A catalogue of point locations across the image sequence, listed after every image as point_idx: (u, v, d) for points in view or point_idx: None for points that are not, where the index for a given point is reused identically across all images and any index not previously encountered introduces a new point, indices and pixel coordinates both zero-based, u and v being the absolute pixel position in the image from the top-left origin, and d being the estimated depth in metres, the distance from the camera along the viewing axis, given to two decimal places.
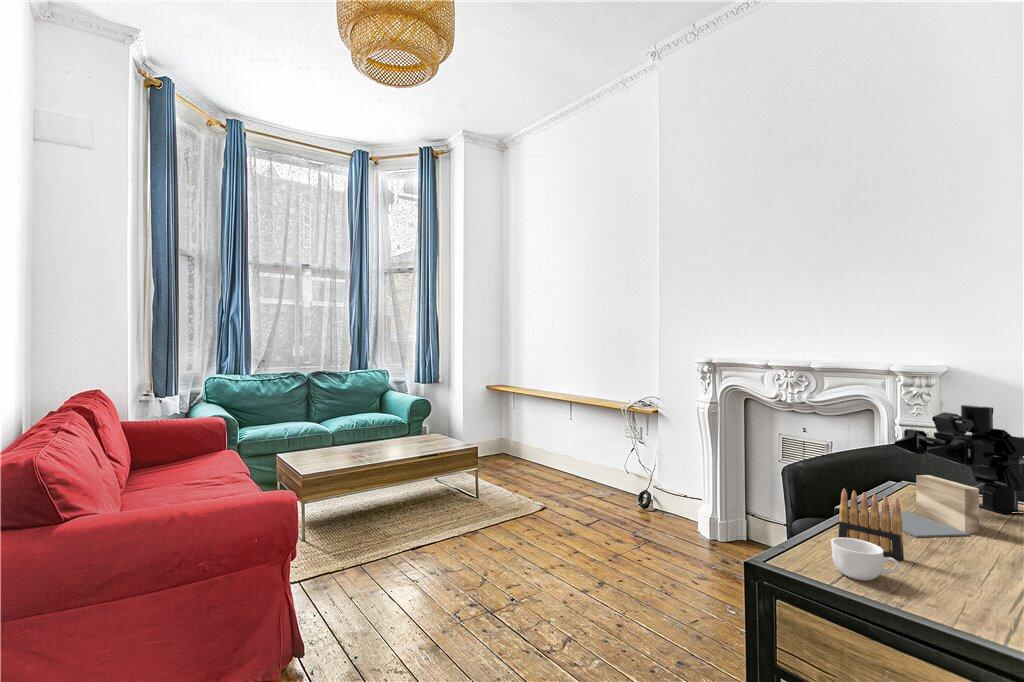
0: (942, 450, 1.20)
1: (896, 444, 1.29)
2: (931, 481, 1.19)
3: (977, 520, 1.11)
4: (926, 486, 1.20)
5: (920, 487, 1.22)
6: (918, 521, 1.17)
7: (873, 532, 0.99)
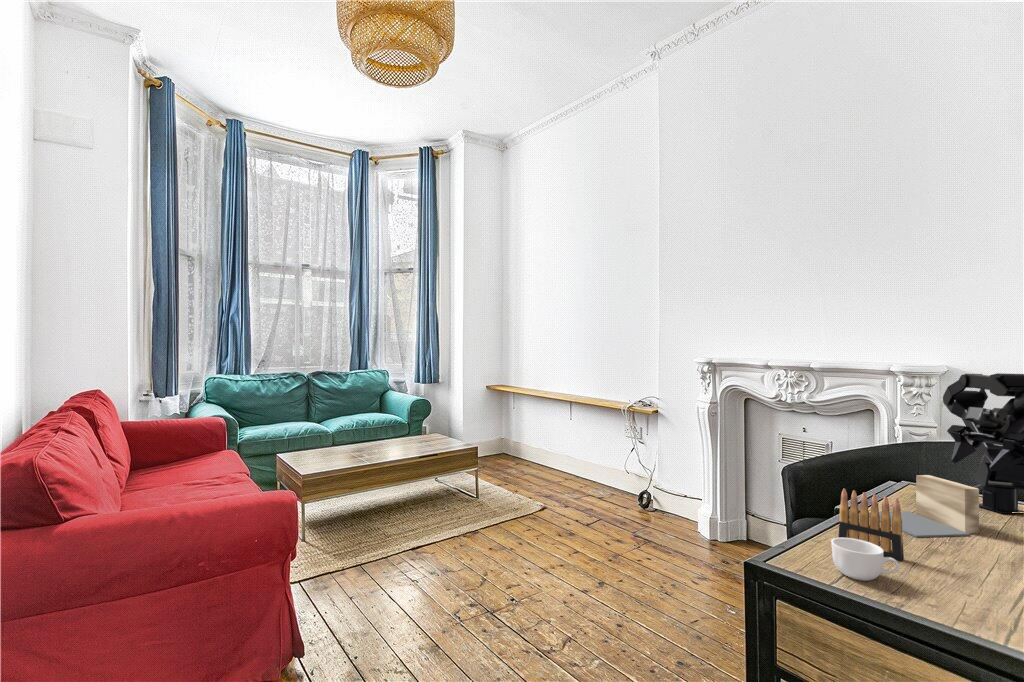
0: (1002, 460, 1.13)
1: (954, 461, 1.23)
2: (931, 481, 1.19)
3: (977, 520, 1.11)
4: (926, 486, 1.20)
5: (920, 487, 1.22)
6: (918, 521, 1.17)
7: (873, 532, 0.99)
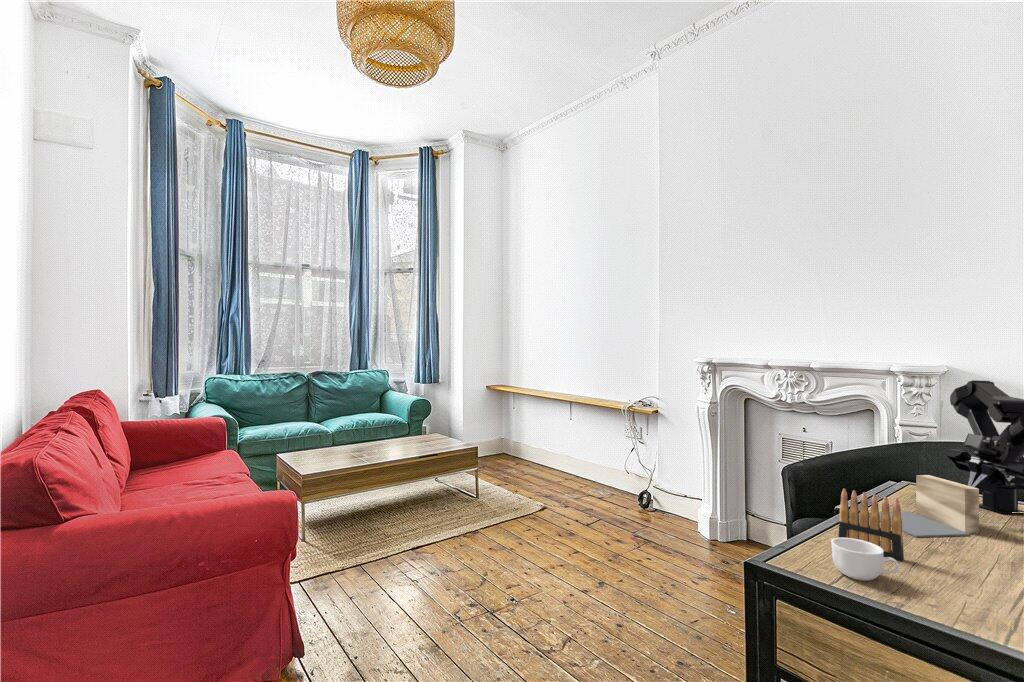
0: (981, 484, 1.17)
1: None
2: (931, 481, 1.19)
3: (977, 520, 1.11)
4: (926, 486, 1.20)
5: (920, 487, 1.22)
6: (918, 521, 1.17)
7: (873, 532, 0.99)
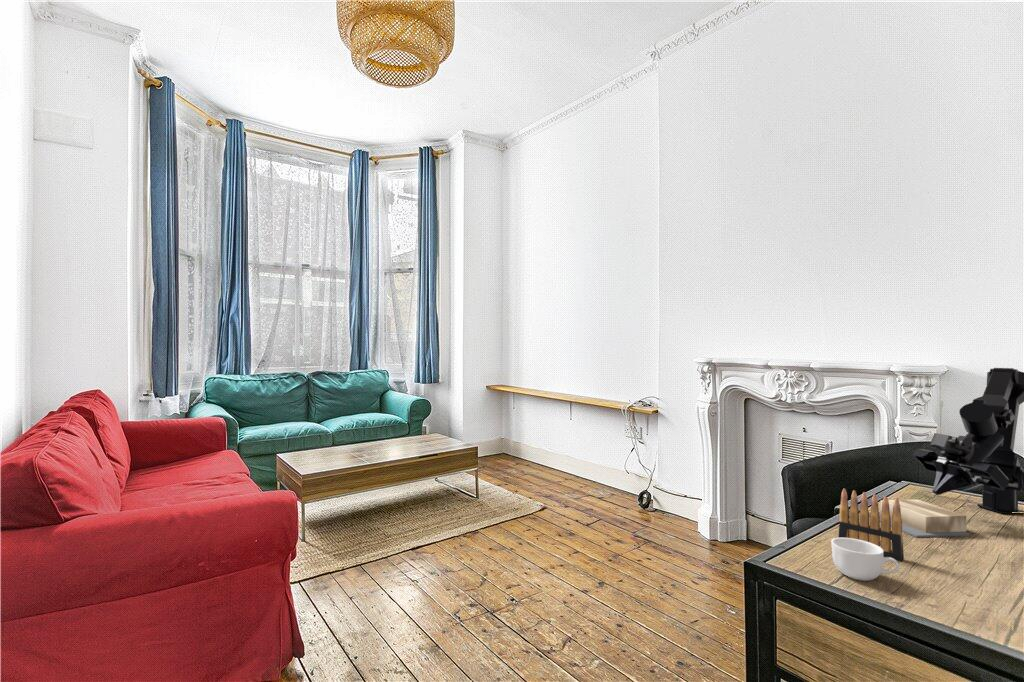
0: (947, 484, 1.16)
1: (936, 492, 1.16)
2: None
3: (955, 517, 1.10)
4: None
5: None
6: None
7: (873, 532, 0.99)
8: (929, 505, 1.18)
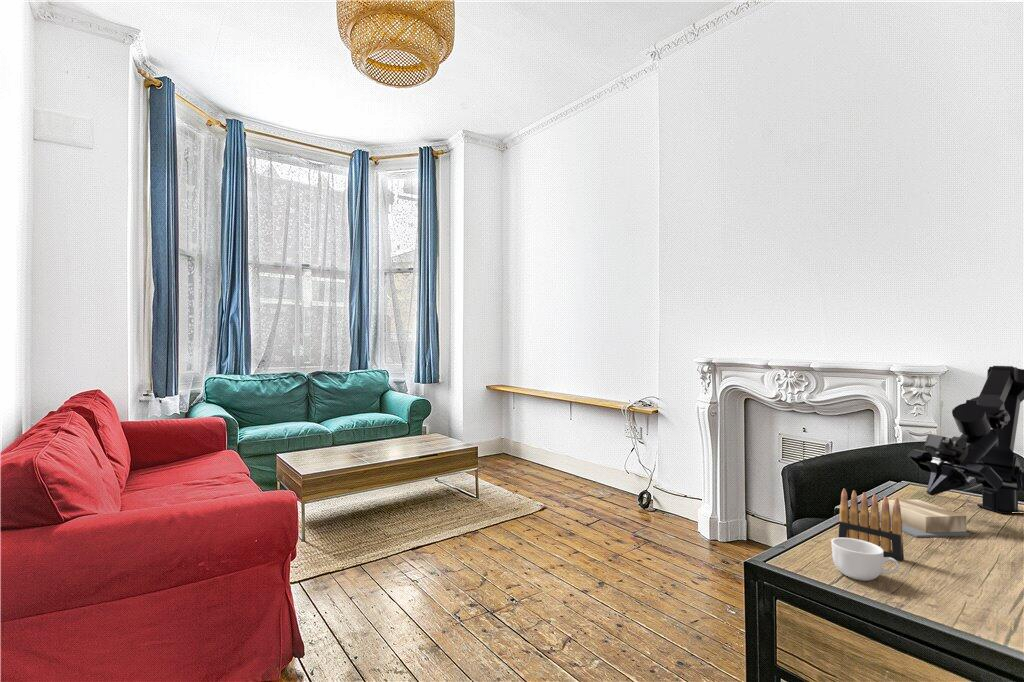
0: (941, 485, 1.16)
1: None
2: None
3: (955, 517, 1.10)
4: None
5: None
6: None
7: (873, 532, 0.99)
8: (929, 505, 1.18)
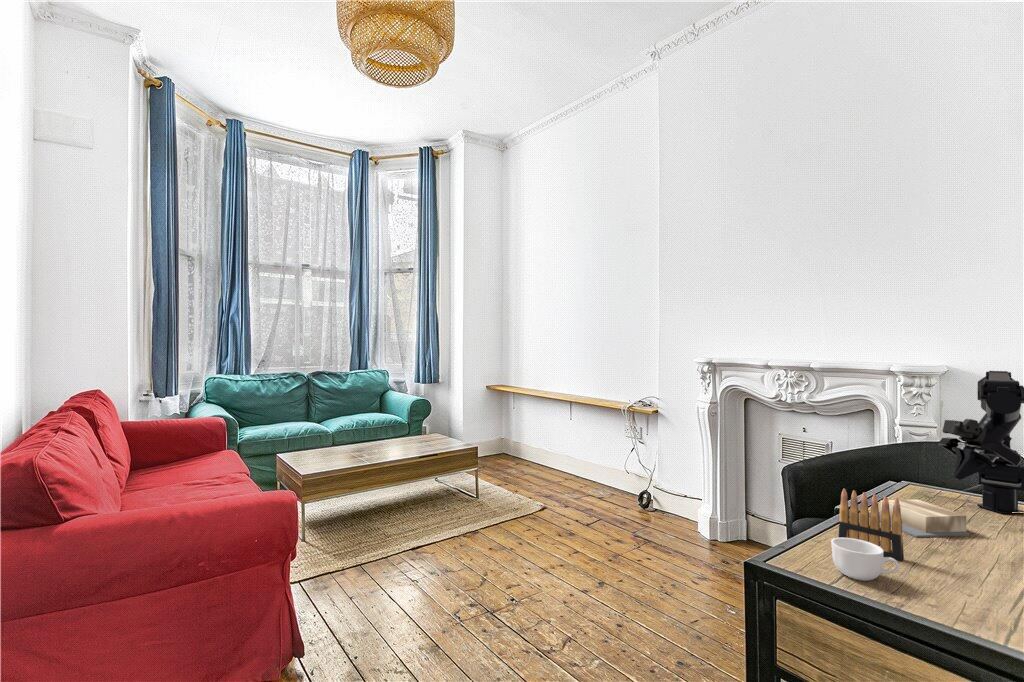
0: (966, 468, 1.18)
1: (957, 478, 1.20)
2: None
3: (955, 517, 1.10)
4: None
5: None
6: None
7: (873, 532, 0.99)
8: (929, 505, 1.18)
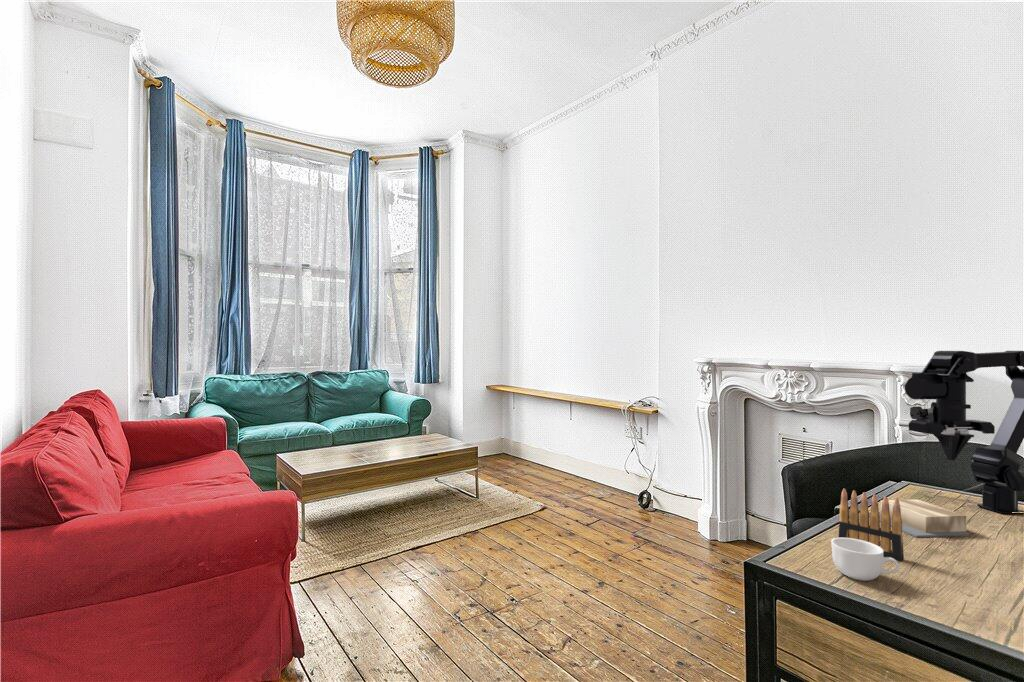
0: (946, 448, 1.26)
1: None
2: None
3: (955, 517, 1.10)
4: None
5: None
6: None
7: (873, 532, 0.99)
8: (929, 505, 1.18)
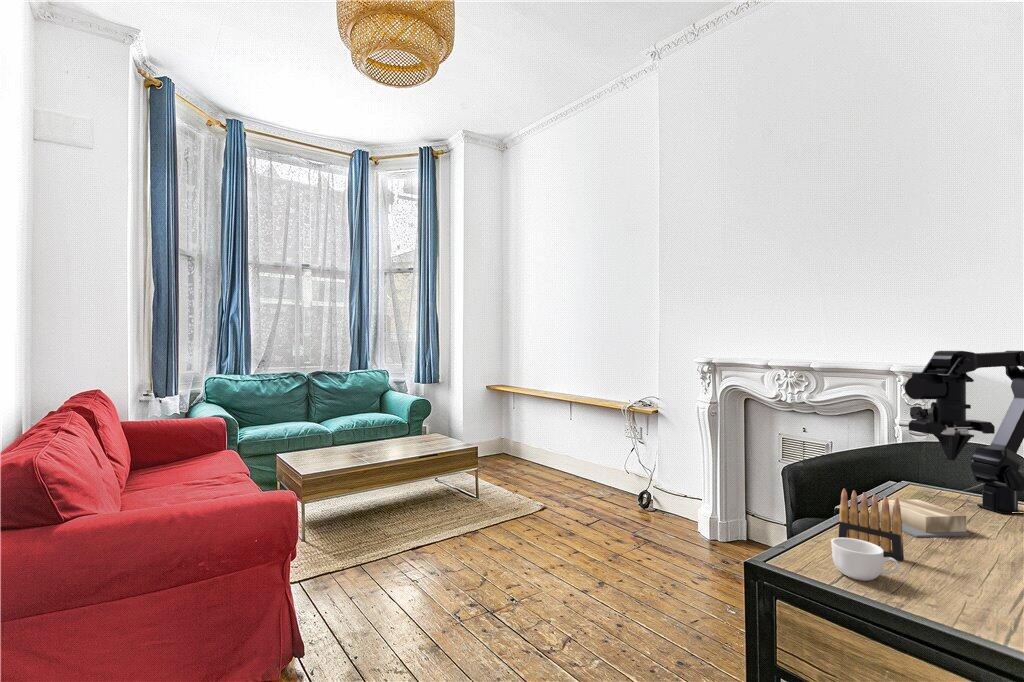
0: (946, 448, 1.26)
1: None
2: None
3: (955, 517, 1.10)
4: None
5: None
6: None
7: (873, 532, 0.99)
8: (929, 505, 1.18)
